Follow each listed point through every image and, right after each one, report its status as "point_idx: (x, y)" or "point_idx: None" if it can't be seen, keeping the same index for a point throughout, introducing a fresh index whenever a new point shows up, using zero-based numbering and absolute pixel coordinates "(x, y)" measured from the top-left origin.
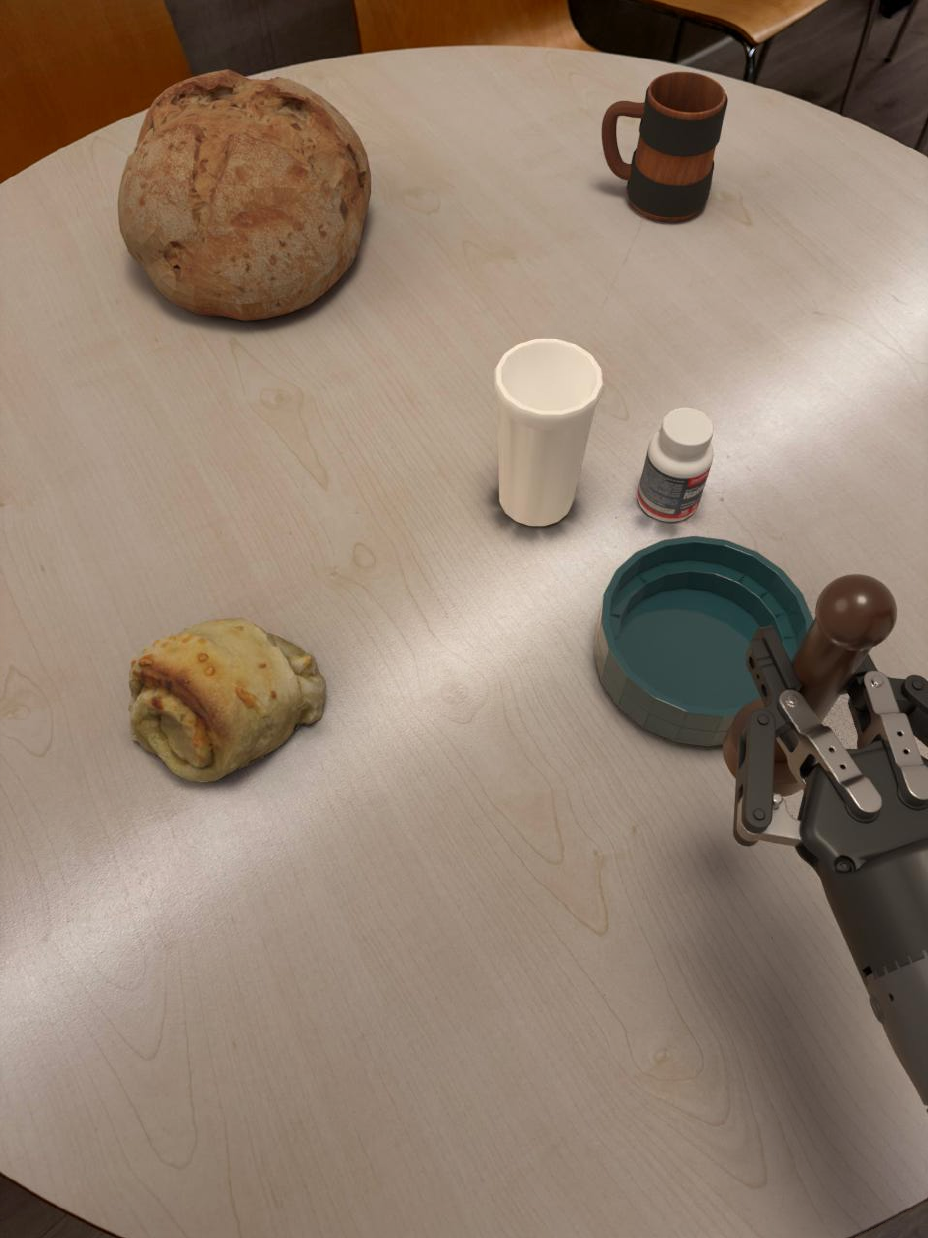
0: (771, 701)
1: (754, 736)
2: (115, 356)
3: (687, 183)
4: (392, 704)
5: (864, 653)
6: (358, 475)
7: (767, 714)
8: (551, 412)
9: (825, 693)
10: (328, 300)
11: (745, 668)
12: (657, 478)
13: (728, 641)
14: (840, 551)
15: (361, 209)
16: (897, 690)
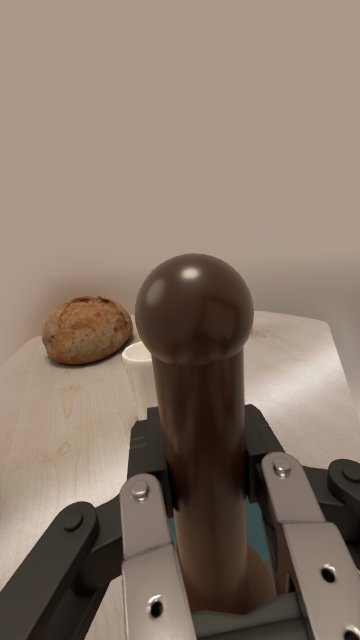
0: (118, 494)
1: (37, 556)
2: (23, 375)
3: None
4: (25, 540)
5: (217, 379)
6: (83, 413)
7: (88, 512)
8: (141, 360)
9: (199, 483)
10: (107, 359)
11: (262, 528)
12: None
13: (250, 506)
14: (321, 453)
15: (124, 332)
16: (322, 487)
